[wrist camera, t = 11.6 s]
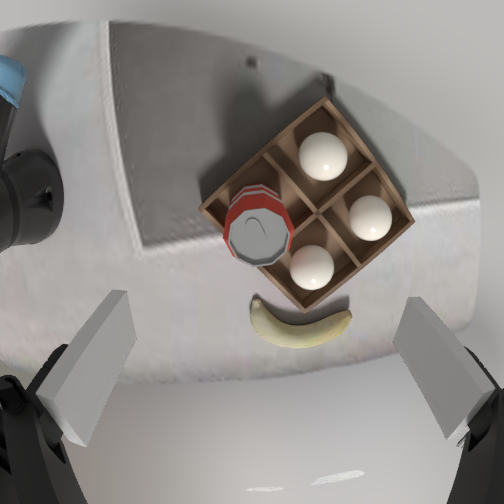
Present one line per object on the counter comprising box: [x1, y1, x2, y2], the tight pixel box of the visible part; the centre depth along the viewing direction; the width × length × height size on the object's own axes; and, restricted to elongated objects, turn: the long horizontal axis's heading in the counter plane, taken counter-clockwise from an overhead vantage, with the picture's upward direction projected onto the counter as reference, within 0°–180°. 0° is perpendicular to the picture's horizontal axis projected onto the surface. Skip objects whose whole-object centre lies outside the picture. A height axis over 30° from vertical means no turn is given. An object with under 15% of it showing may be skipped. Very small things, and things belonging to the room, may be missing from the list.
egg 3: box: [348, 195, 392, 241], centre depth 32 cm, size 6×6×6 cm
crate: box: [198, 96, 415, 314], centre depth 34 cm, size 20×20×3 cm
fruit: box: [250, 298, 352, 348], centre depth 40 cm, size 7×15×3 cm, turn 82°
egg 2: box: [290, 245, 334, 290], centre depth 34 cm, size 6×6×6 cm
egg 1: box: [298, 132, 348, 181], centre depth 29 cm, size 6×6×6 cm
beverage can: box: [223, 183, 294, 267], centre depth 29 cm, size 6×6×12 cm
